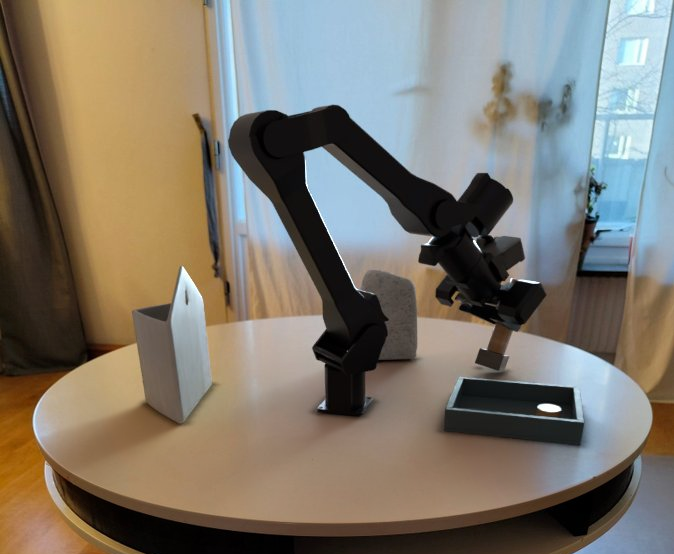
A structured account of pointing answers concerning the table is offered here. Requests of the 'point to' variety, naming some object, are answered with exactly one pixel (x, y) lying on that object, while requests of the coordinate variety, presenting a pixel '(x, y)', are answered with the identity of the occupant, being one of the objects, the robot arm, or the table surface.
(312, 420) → the table surface
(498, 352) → the brush
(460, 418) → the tray
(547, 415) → the orange brown short cylinder
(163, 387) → the planter
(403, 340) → the decorative stone
